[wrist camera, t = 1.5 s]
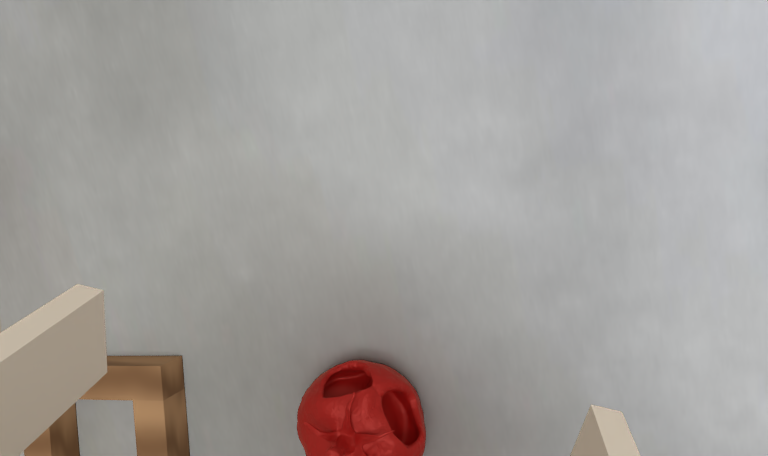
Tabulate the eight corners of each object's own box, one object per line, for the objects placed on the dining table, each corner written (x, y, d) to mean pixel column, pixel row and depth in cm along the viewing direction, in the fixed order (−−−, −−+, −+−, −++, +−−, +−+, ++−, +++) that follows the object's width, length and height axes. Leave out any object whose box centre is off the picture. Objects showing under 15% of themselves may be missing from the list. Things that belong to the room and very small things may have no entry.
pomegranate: (394, 490, 42) (366, 568, 33) (296, 422, 44) (243, 478, 35) (454, 393, 40) (442, 447, 31) (350, 326, 42) (310, 359, 33)
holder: (194, 517, 46) (174, 539, 43) (58, 507, 49) (30, 526, 46) (181, 355, 46) (160, 365, 43) (45, 356, 49) (16, 365, 46)
